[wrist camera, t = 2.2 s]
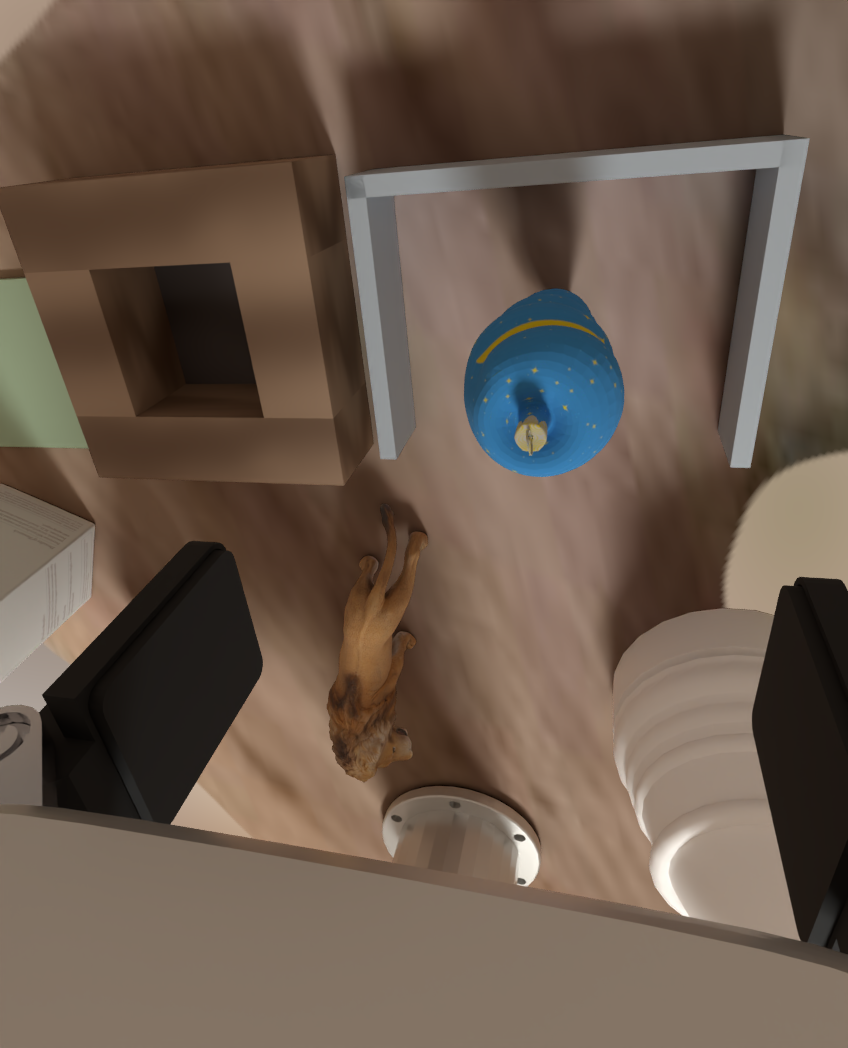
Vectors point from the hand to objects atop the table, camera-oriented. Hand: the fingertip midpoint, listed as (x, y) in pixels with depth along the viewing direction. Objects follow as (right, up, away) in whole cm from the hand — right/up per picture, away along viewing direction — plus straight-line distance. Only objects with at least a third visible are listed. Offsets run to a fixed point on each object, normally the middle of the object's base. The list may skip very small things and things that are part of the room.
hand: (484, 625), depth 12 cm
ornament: (+5, +12, +20) cm, 24 cm away
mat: (-24, +11, +28) cm, 39 cm away
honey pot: (+17, -8, +29) cm, 35 cm away
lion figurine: (-3, -3, +31) cm, 32 cm away
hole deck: (-11, +13, +24) cm, 29 cm away
